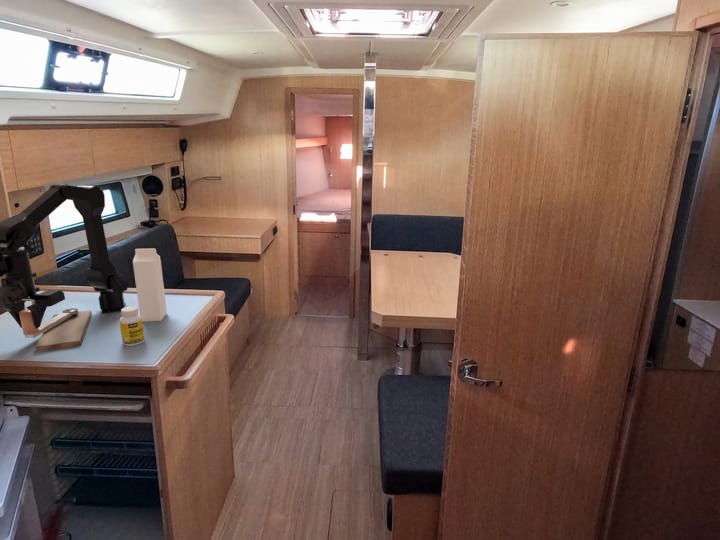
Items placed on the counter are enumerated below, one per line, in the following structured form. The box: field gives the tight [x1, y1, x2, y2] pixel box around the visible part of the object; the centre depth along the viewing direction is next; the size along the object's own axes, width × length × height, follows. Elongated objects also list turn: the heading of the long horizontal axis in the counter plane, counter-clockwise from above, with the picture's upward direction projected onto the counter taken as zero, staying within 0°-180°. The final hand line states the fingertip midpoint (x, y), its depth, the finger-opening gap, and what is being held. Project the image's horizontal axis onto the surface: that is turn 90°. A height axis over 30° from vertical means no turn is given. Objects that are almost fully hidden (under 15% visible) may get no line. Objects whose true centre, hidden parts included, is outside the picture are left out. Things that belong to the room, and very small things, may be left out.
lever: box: [19, 307, 79, 339], centre depth 130 cm, size 4×20×7 cm, turn 178°
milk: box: [132, 247, 168, 323], centre depth 139 cm, size 6×6×22 cm
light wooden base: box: [35, 309, 93, 353], centre depth 131 cm, size 10×24×2 cm, turn 23°
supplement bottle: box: [119, 305, 145, 347], centre depth 124 cm, size 5×5×10 cm
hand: (30, 327), depth 123 cm, fingers open, 4 cm apart
